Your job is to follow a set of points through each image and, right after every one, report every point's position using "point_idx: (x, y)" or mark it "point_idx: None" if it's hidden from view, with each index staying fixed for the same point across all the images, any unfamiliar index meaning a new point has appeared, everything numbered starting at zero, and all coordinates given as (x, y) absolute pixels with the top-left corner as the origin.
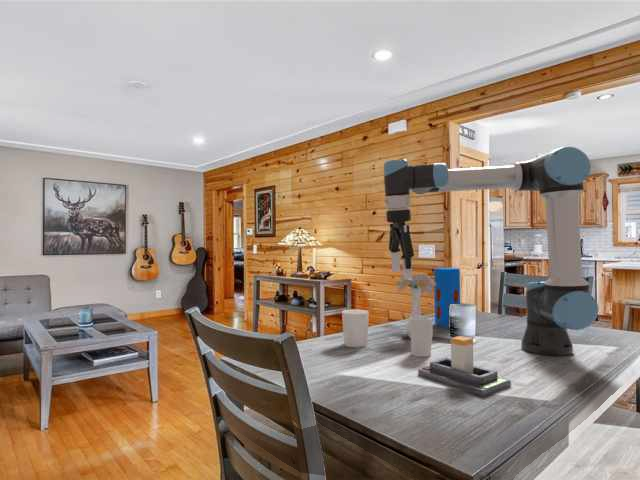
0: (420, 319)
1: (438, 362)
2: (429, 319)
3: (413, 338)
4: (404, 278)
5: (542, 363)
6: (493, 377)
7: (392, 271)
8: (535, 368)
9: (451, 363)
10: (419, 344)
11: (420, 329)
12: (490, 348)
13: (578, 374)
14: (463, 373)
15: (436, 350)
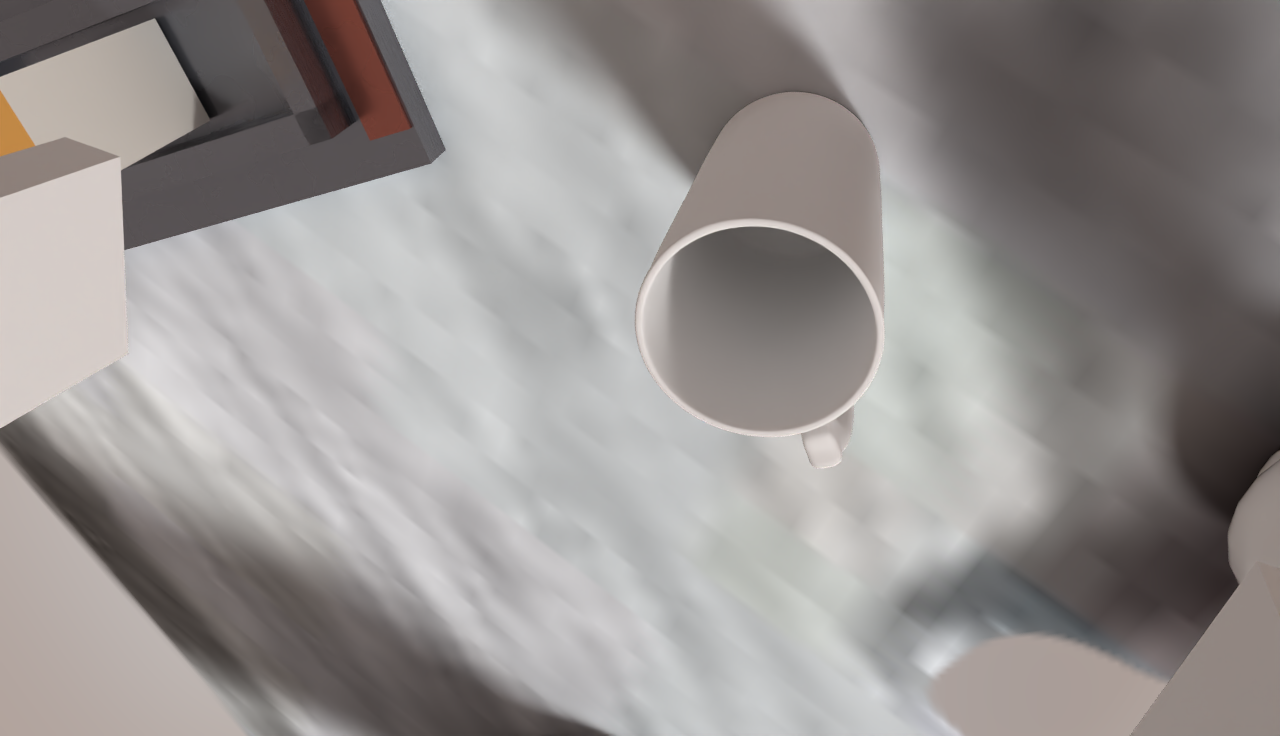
0: (854, 373)
1: (242, 9)
2: (648, 368)
3: (761, 142)
4: (40, 154)
5: (394, 640)
6: None
7: (1278, 575)
8: (326, 557)
9: (109, 36)
10: (710, 154)
11: (674, 220)
12: (733, 659)
13: (223, 624)
14: (3, 21)
15: None
